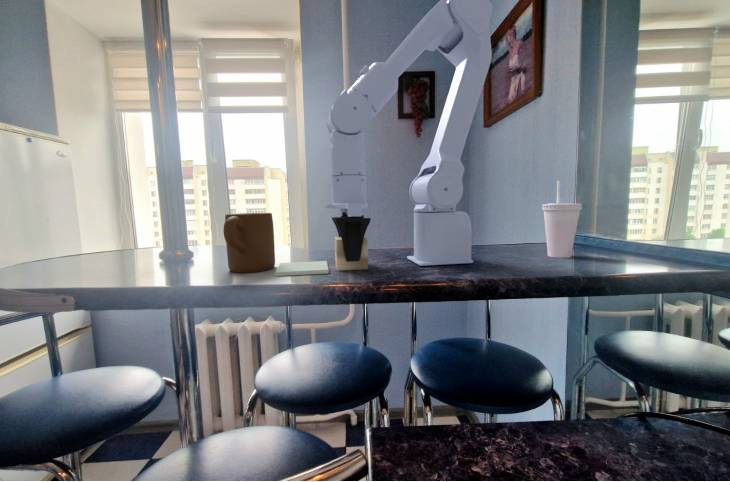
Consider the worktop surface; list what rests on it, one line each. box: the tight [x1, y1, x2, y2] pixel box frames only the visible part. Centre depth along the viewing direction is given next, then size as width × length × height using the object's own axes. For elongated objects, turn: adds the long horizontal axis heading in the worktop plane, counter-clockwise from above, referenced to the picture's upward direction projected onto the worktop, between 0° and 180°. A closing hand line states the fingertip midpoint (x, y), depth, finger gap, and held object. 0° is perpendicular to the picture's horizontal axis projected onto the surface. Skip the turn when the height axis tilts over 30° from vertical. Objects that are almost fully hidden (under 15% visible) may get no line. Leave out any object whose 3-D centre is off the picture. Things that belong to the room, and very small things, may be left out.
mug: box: [223, 212, 276, 274], centre depth 52 cm, size 12×8×9 cm, turn 178°
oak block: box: [334, 236, 369, 271], centre depth 54 cm, size 5×5×5 cm
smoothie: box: [541, 180, 583, 259], centre depth 59 cm, size 6×6×14 cm
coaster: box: [274, 260, 330, 277], centre depth 53 cm, size 8×8×1 cm
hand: (350, 258), depth 55 cm, fingers closed on oak block, 5 cm apart
